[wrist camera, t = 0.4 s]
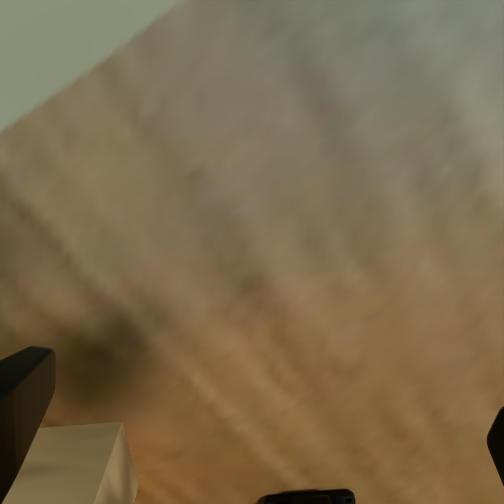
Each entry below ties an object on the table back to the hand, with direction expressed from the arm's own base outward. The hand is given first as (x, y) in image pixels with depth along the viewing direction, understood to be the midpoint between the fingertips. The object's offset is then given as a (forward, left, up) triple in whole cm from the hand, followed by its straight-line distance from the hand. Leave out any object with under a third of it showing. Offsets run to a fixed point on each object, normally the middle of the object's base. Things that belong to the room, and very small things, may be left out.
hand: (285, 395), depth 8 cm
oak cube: (-17, +13, -14) cm, 25 cm away
